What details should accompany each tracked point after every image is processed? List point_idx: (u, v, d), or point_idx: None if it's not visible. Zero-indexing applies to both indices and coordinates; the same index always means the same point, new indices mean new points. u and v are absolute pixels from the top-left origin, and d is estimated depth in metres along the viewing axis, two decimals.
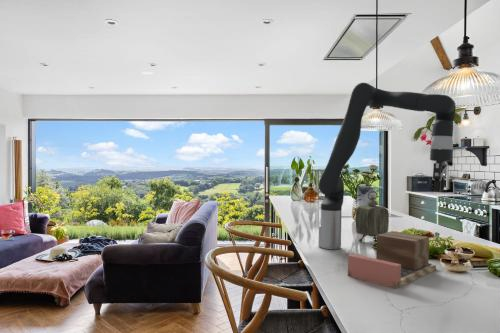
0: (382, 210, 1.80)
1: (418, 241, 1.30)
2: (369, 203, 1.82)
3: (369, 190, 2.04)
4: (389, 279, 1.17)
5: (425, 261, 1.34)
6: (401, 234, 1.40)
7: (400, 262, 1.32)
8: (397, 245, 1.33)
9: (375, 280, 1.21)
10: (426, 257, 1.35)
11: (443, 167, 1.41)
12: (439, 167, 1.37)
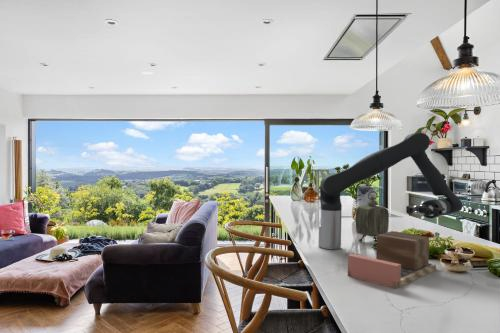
0: (382, 210, 1.80)
1: (418, 241, 1.30)
2: (369, 203, 1.82)
3: (369, 190, 2.04)
4: (389, 279, 1.17)
5: (425, 261, 1.34)
6: (401, 234, 1.40)
7: (400, 262, 1.32)
8: (397, 245, 1.33)
9: (375, 280, 1.21)
10: (426, 257, 1.35)
11: None
12: (443, 213, 1.46)
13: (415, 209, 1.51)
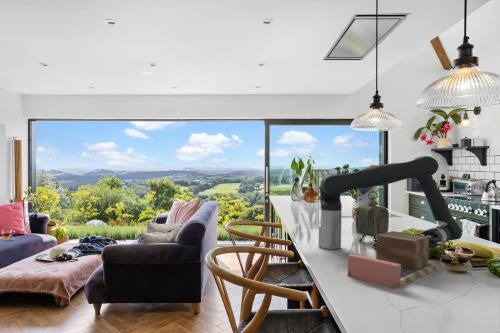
0: (382, 210, 1.80)
1: (418, 241, 1.30)
2: (369, 203, 1.82)
3: (369, 190, 2.04)
4: (389, 279, 1.17)
5: (425, 261, 1.34)
6: (401, 234, 1.40)
7: (400, 262, 1.32)
8: (397, 245, 1.33)
9: (375, 280, 1.21)
10: (426, 257, 1.35)
11: None
12: (438, 244, 1.46)
13: None
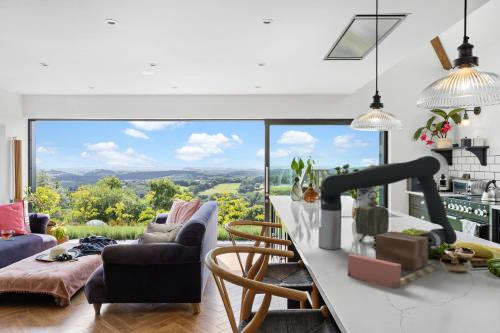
0: (382, 210, 1.80)
1: (417, 241, 1.30)
2: (369, 203, 1.82)
3: (369, 190, 2.04)
4: (389, 279, 1.17)
5: (424, 261, 1.34)
6: (400, 234, 1.40)
7: (400, 262, 1.31)
8: (396, 245, 1.32)
9: (375, 280, 1.21)
10: (425, 258, 1.34)
11: None
12: (431, 249, 1.42)
13: None
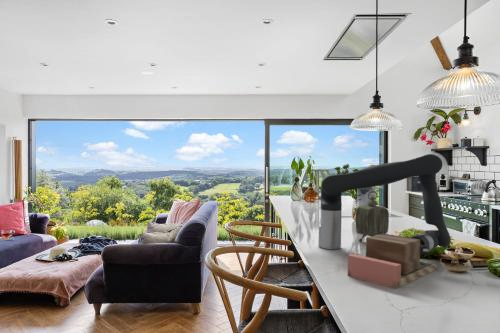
0: (382, 210, 1.80)
1: (408, 244, 1.25)
2: (369, 203, 1.82)
3: (369, 190, 2.04)
4: (389, 279, 1.17)
5: (416, 265, 1.29)
6: (391, 237, 1.35)
7: None
8: (386, 248, 1.27)
9: (375, 280, 1.21)
10: (417, 261, 1.30)
11: None
12: (424, 252, 1.38)
13: None
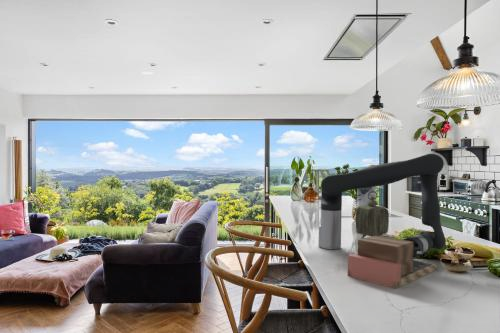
0: (382, 210, 1.80)
1: (401, 246, 1.21)
2: (369, 203, 1.82)
3: (369, 190, 2.04)
4: (389, 279, 1.17)
5: (408, 267, 1.25)
6: (384, 239, 1.31)
7: None
8: (378, 251, 1.24)
9: (375, 280, 1.21)
10: (410, 264, 1.26)
11: None
12: (417, 254, 1.34)
13: None
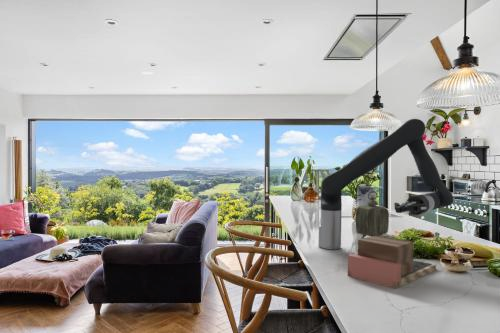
0: (382, 210, 1.80)
1: (401, 246, 1.21)
2: (369, 203, 1.82)
3: (369, 190, 2.04)
4: (389, 279, 1.17)
5: (408, 267, 1.25)
6: (384, 239, 1.31)
7: None
8: (378, 250, 1.24)
9: (375, 280, 1.21)
10: (410, 264, 1.26)
11: None
12: (422, 210, 1.38)
13: None
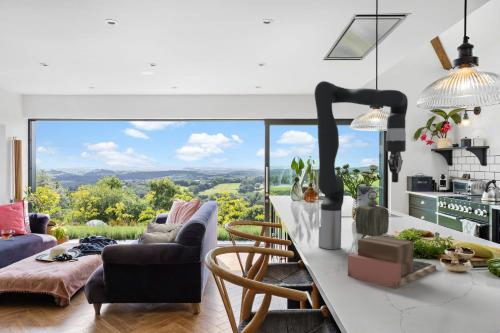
0: (382, 210, 1.80)
1: (401, 246, 1.21)
2: (369, 203, 1.82)
3: (369, 190, 2.04)
4: (389, 279, 1.17)
5: (408, 267, 1.25)
6: (384, 239, 1.31)
7: None
8: (378, 250, 1.24)
9: (375, 280, 1.21)
10: (410, 264, 1.26)
11: (397, 159, 1.51)
12: (393, 163, 1.49)
13: None
